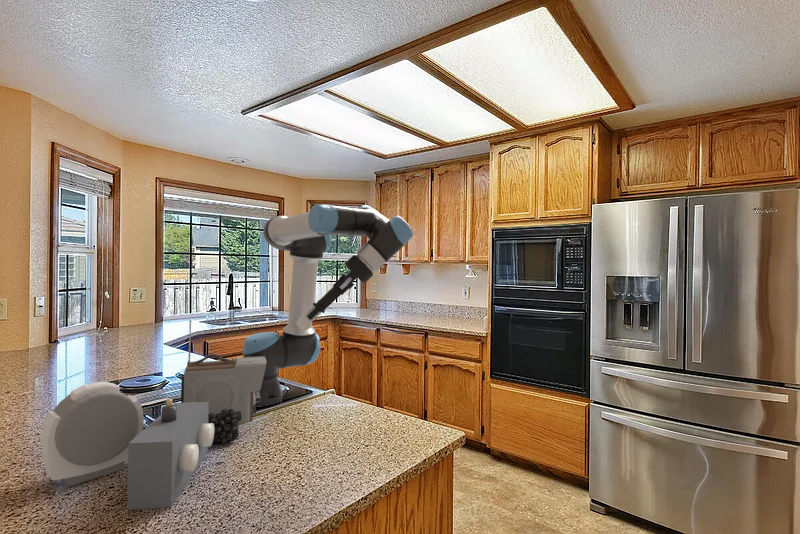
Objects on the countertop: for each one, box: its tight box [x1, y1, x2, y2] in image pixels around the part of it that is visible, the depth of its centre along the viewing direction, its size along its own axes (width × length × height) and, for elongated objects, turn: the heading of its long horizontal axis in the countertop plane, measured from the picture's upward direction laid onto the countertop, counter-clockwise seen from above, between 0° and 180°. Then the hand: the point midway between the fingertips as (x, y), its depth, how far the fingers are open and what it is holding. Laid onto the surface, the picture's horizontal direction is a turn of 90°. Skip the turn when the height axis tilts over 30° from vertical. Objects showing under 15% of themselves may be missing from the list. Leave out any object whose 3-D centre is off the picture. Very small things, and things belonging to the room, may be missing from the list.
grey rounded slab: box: [40, 381, 145, 487], centre depth 96 cm, size 18×8×20 cm, turn 141°
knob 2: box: [197, 423, 214, 448], centre depth 101 cm, size 5×7×5 cm
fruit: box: [208, 409, 244, 444], centre depth 115 cm, size 9×8×15 cm
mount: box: [126, 402, 209, 511], centre depth 95 cm, size 24×8×13 cm, turn 9°
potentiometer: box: [160, 398, 177, 423], centre depth 95 cm, size 3×3×5 cm
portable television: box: [179, 319, 267, 425], centre depth 131 cm, size 12×24×30 cm, turn 112°
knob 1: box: [178, 444, 199, 472], centre depth 89 cm, size 5×7×5 cm
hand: (299, 326), depth 110 cm, fingers closed
